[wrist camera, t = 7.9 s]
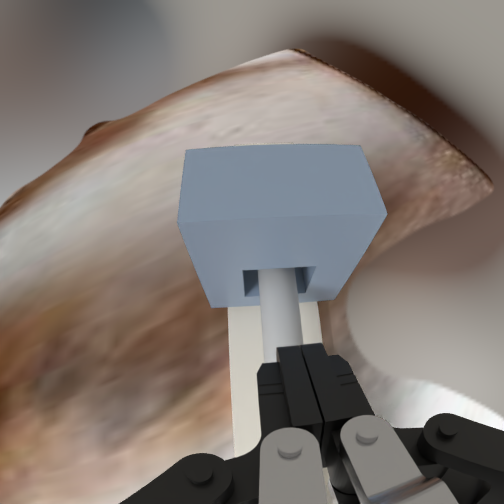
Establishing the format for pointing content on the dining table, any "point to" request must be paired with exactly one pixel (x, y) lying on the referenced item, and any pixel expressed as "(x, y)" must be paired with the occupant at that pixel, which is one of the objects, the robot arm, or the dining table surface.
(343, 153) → the collar
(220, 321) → the dining table surface
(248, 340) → the rail stand
